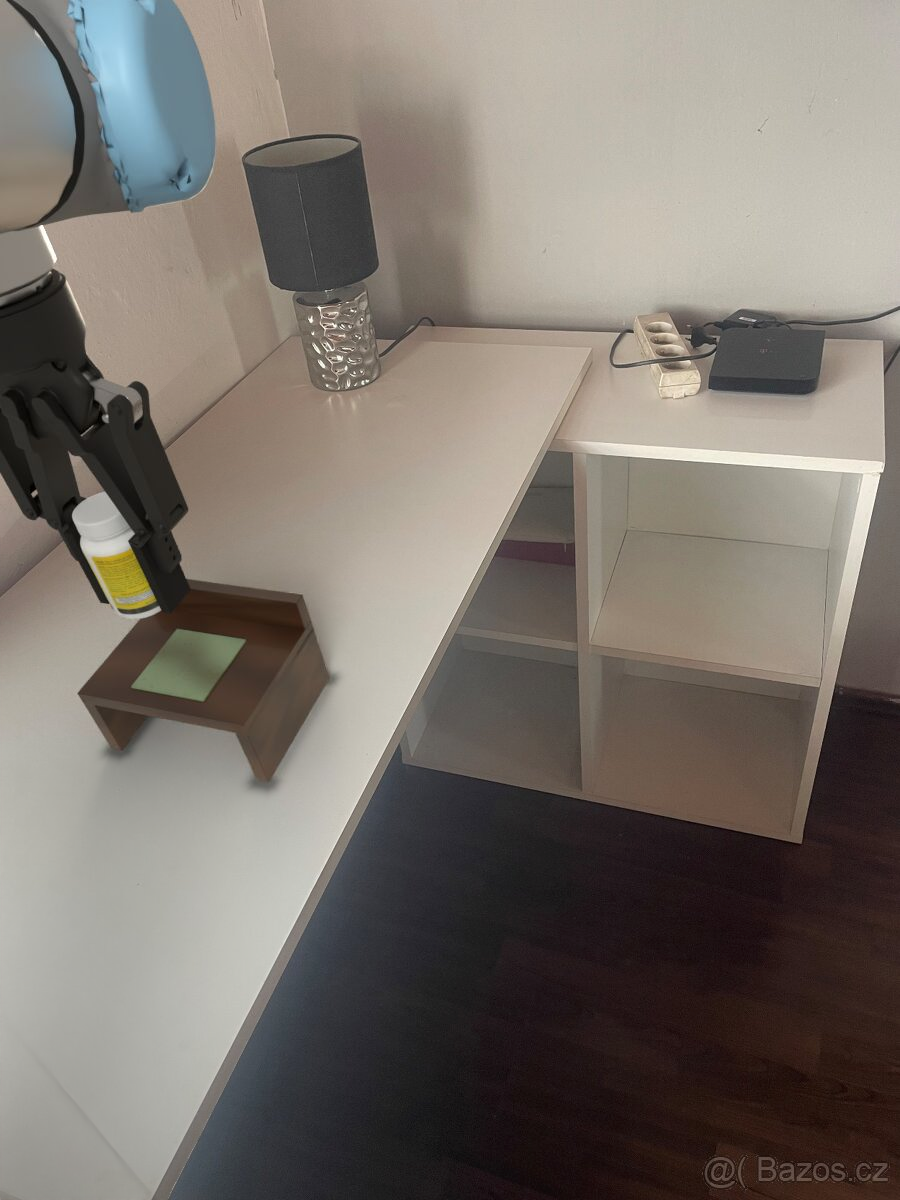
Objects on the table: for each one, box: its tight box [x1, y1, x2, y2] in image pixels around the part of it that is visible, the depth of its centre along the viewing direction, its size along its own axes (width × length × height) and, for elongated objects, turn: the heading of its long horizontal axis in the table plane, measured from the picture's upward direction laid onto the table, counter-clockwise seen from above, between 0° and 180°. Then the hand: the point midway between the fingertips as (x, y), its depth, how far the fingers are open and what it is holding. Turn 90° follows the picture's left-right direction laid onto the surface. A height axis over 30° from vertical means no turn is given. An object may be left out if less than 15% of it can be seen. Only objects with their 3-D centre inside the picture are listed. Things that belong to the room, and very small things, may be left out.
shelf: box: [76, 578, 330, 783], centre depth 74 cm, size 12×16×10 cm
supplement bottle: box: [72, 491, 161, 620], centre depth 61 cm, size 5×5×8 cm
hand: (145, 595), depth 64 cm, fingers closed on supplement bottle, 5 cm apart
